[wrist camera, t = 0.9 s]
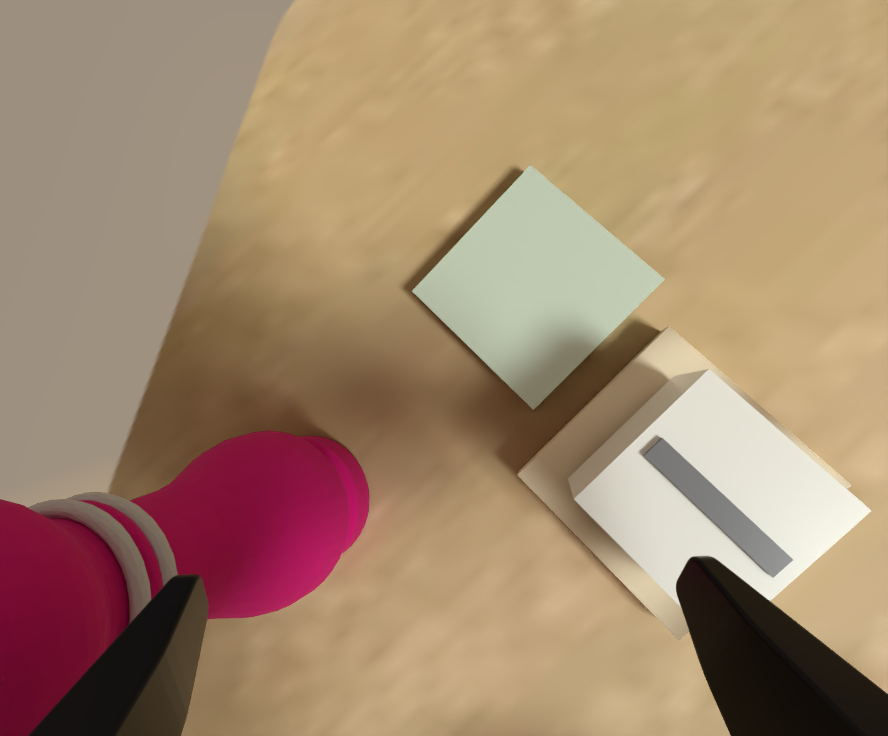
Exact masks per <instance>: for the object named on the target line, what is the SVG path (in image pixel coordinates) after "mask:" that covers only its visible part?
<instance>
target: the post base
mask: <svg viewBox="0 0 888 736" xmlns="http://www.w3.org/2000/svg"><path fill="white" fill-rule="evenodd" d="M706 369H710V370H711V371H712V372H713V373H715V374H716V375H717V376H718V377H719V378H720V379H721V380H723V381H724V382H725V383H726V384H727V385H728V386H729V387H731V388H732V389H733V390H734V391H735V392H736V393H737V394H739V395H740V396H741V397H742V398H743V399H744V400H745V401H747V402H748V403H749V404H750V405H751V406H752V407H753V408H755V409H756V410H757V411H758V412H759V413H760V414H761V415H763V416H764V417H765V418H766V419H767V420H768V421H769V422H771V423H772V424H773V425H774V426H775V427H776V428H777V429H779V430H780V431H781V432H782V433H783V434H784V435H785V436H787V437H788V438H789V439H790V440H791V441H792V442H793V443H795V444H796V445H797V446H798V447H799V448H800V449H801V450H803V451H804V452H805V453H806V454H807V455H808V456H809V457H811V458H812V459H813V460H814V461H815V462H816V463H817V464H819V465H820V466H821V467H822V468H823V469H824V470H825V471H827V472H828V473H829V474H830V475H831V476H832V477H833V478H835V479H836V480H837V481H838V482H839V483H840V484H841V485H843V486H844V487H845V488H846V489H848V488H849V487H850V486H851V484H849V483H848V482H847V481H846V480H845V479H844V478H843V477H841V476H840V475H839V474H838V473H837V472H836V471H835V470H833V469H832V468H831V467H830V466H829V465H828V464H827V463H825V462H824V461H823V460H822V459H821V458H820V457H819V456H817V455H816V454H815V453H814V452H813V451H812V450H810V449H809V448H808V447H807V446H806V445H805V444H804V443H802V442H801V441H800V440H799V439H798V438H797V437H796V436H794V435H793V434H792V433H791V432H790V431H789V430H788V429H786V428H785V427H784V426H783V425H782V424H781V423H780V422H778V421H777V420H776V419H775V418H774V417H773V416H772V415H770V414H769V413H768V412H767V411H766V410H765V409H763V408H762V407H761V406H760V405H759V404H758V403H757V402H755V401H754V400H753V399H752V398H751V397H750V396H749V395H747V394H746V393H745V392H744V391H743V390H742V389H741V388H739V387H738V386H737V385H736V384H735V383H734V382H733V381H731V380H730V379H729V378H728V377H727V376H726V375H724V374H723V373H722V372H721V371H720V370H719V369H718V368H716V367H715V366H714V365H713V364H712V363H711V362H710V361H708V360H707V359H706V358H705V357H704V356H703V355H702V354H700V353H699V352H698V351H697V350H696V349H695V348H694V347H692V346H691V345H690V344H689V343H688V342H687V341H686V340H684V339H683V338H682V337H681V336H680V335H679V334H677V333H676V332H675V331H674V330H673V329H672V328H671V327H667V328H665V329H664V330H662V331H661V332H660V333H659V334H658V335H657V336H656V337H655V338H654V339H653V340H652V341H651V342H649V343H648V344H647V345H646V346H645V347H644V348H643V349H642V350H641V351H640V352H639V353H638V354H637V355H636V356H635V357H634V358H633V359H632V360H631V361H630V362H629V363H628V364H627V365H626V366H625V367H624V368H623V369H622V370H621V371H620V372H619V373H618V374H617V375H616V376H615V377H614V378H613V379H612V380H611V381H610V382H609V383H608V384H607V385H606V386H605V387H604V388H603V389H602V390H601V391H600V392H599V393H598V394H597V395H596V396H595V397H594V398H593V399H592V400H590V401H589V402H588V403H587V404H586V405H585V406H584V407H583V408H582V409H581V410H580V411H579V412H578V413H577V414H576V415H575V416H574V417H573V418H572V419H571V420H570V421H569V422H568V423H567V424H566V425H565V426H564V427H563V428H562V429H561V430H560V431H559V432H558V433H557V434H556V435H555V436H554V437H553V438H552V439H551V440H550V441H549V442H548V443H547V444H546V445H545V446H544V447H543V448H542V449H541V450H540V451H539V452H538V453H537V454H536V455H535V456H534V457H533V458H531V459H530V460H529V461H528V462H527V463H526V464H525V465H524V466H523V467H522V468H521V469H520V470H519V472H518V476H519V477H520V478H521V479H522V480H523V481H524V483H525V484H526V485H527V486H528V487H529V488H530V489H531V490H532V491H533V492H534V493H535V494H536V495H537V496H538V497H539V498H540V499H541V500H542V501H543V502H544V503H545V504H546V505H547V506H548V507H549V508H550V509H551V510H552V511H553V512H554V513H555V514H556V515H557V516H558V517H559V518H560V519H561V520H562V521H563V522H564V523H565V524H566V526H567V527H568V528H569V529H570V530H571V531H572V532H573V533H574V534H575V535H576V536H577V537H578V538H579V539H580V540H581V541H582V542H583V543H584V544H585V545H586V546H587V547H588V548H589V549H590V550H591V551H592V552H593V553H594V554H595V555H596V556H597V557H598V558H599V559H600V560H601V561H602V562H603V563H604V564H605V565H606V566H607V567H608V569H609V570H610V571H611V572H612V573H613V574H614V575H615V576H616V577H617V578H618V579H619V580H620V581H621V582H622V583H623V584H624V585H625V586H626V587H627V588H628V589H629V590H630V591H631V592H632V593H633V594H634V595H635V596H636V597H637V598H638V599H639V600H640V601H641V602H642V603H643V604H644V605H645V606H646V607H647V608H648V609H649V611H650V612H651V613H652V614H653V615H654V616H655V617H656V618H657V619H658V620H659V621H660V622H661V623H662V624H663V625H664V626H665V627H666V628H667V629H668V630H669V631H670V632H671V633H672V634H673V635H674V636H675V637H676V638H677V639H678V640H680V639H681V638H682V637H683V636H684V635H686V634H687V633H688V632H689V629H688V626H687V623H686V620H685V618H684V615H683V612H682V609H681V607H680V606H679V605H678V604H677V603H676V602H675V601H674V600H673V599H672V598H671V597H670V596H669V595H668V594H667V593H666V592H665V591H664V590H663V589H662V588H661V587H660V586H659V585H658V584H657V583H656V582H655V581H654V580H653V579H652V578H651V577H650V575H649V574H648V573H647V572H646V571H645V570H644V569H643V568H642V567H641V566H640V565H639V564H638V563H637V562H636V561H635V560H634V559H633V558H632V557H631V556H630V555H629V554H628V553H627V552H626V551H625V550H624V549H623V548H622V547H621V546H620V545H619V544H618V543H617V542H616V541H615V540H614V539H613V538H612V537H611V536H610V535H609V534H608V533H607V532H606V531H605V530H604V529H603V528H602V527H601V526H600V525H599V524H598V523H597V522H596V521H595V520H594V519H593V518H592V517H591V516H590V515H589V514H588V513H587V512H586V511H585V510H584V509H583V508H582V507H581V506H580V505H579V504H578V503H577V502H576V501H575V500H574V499H573V495H572V491H571V488H570V484H569V481H568V478H569V477H570V476H571V475H572V474H573V473H574V472H575V471H576V470H577V469H578V468H579V467H580V466H581V465H582V464H583V463H584V462H585V461H586V460H587V459H589V458H590V457H591V456H592V455H593V454H594V453H595V452H596V451H597V450H598V449H599V448H600V447H601V446H602V445H603V444H604V443H605V442H606V441H607V440H608V439H609V438H610V437H611V436H612V435H613V434H614V433H615V432H616V431H617V430H618V429H620V428H621V427H622V426H623V425H624V424H625V423H626V422H627V421H628V420H629V419H630V418H631V417H632V416H633V415H634V414H635V413H636V412H637V411H638V410H639V409H640V408H641V407H642V406H643V405H644V404H645V403H646V402H647V401H648V400H649V399H650V398H652V397H653V396H654V395H655V394H656V393H657V392H658V391H659V390H660V389H661V388H662V387H663V386H664V385H665V384H666V383H667V382H668V381H669V380H670V379H671V378H672V377H673V376H677V375H681V374H686V373H691V372H696V371H701V370H706Z"/></svg>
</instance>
